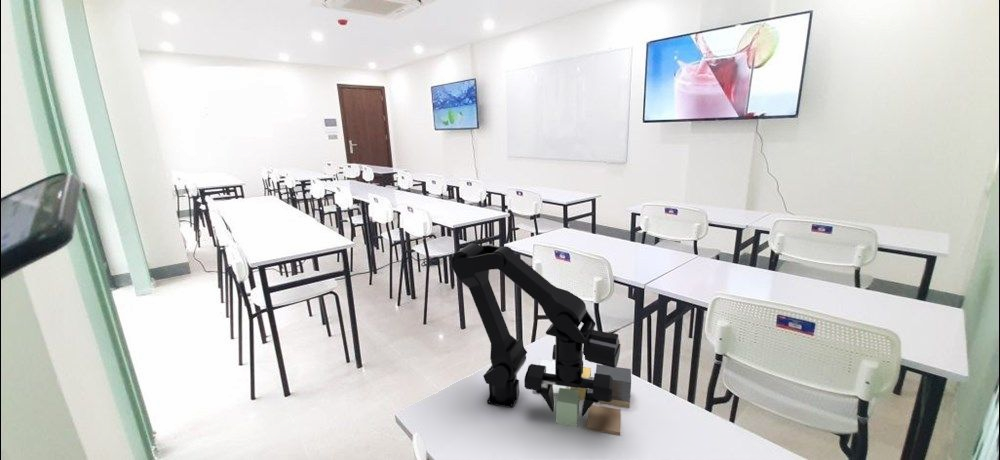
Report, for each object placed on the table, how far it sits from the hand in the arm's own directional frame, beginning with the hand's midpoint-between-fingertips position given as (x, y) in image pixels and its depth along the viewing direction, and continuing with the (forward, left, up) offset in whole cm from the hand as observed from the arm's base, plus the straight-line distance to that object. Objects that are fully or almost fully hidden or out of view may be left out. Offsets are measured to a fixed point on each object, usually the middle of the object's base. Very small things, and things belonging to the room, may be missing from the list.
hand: (567, 413), depth 92 cm
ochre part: (+2, +9, -1) cm, 9 cm away
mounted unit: (+10, +9, -1) cm, 13 cm away
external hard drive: (-6, +13, -2) cm, 14 cm away
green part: (0, 0, -1) cm, 1 cm away
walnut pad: (+8, +1, -1) cm, 8 cm away
